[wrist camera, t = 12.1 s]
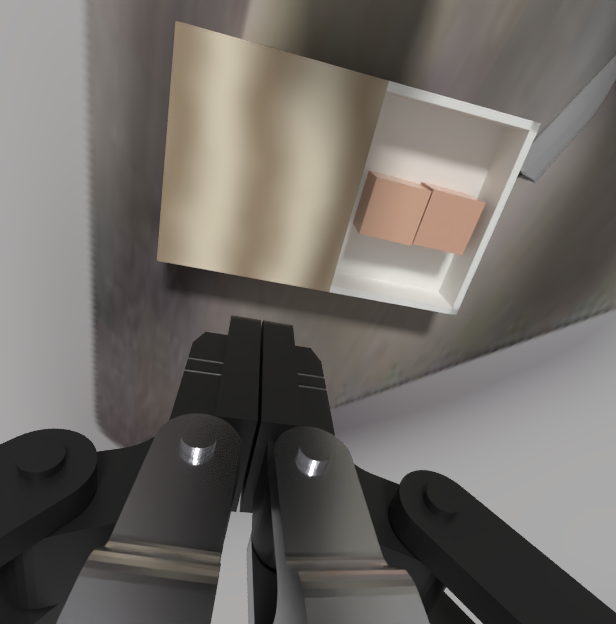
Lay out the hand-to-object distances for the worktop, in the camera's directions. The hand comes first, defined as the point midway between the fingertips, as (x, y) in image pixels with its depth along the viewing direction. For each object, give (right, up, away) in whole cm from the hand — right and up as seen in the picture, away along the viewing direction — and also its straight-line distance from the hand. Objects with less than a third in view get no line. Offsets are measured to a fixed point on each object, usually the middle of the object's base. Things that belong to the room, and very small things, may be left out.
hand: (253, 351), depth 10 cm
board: (-2, +13, +24) cm, 27 cm away
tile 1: (+8, +10, +25) cm, 28 cm away
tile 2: (+13, +8, +23) cm, 28 cm away
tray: (+10, +10, +26) cm, 30 cm away
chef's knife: (+21, +15, +25) cm, 36 cm away
